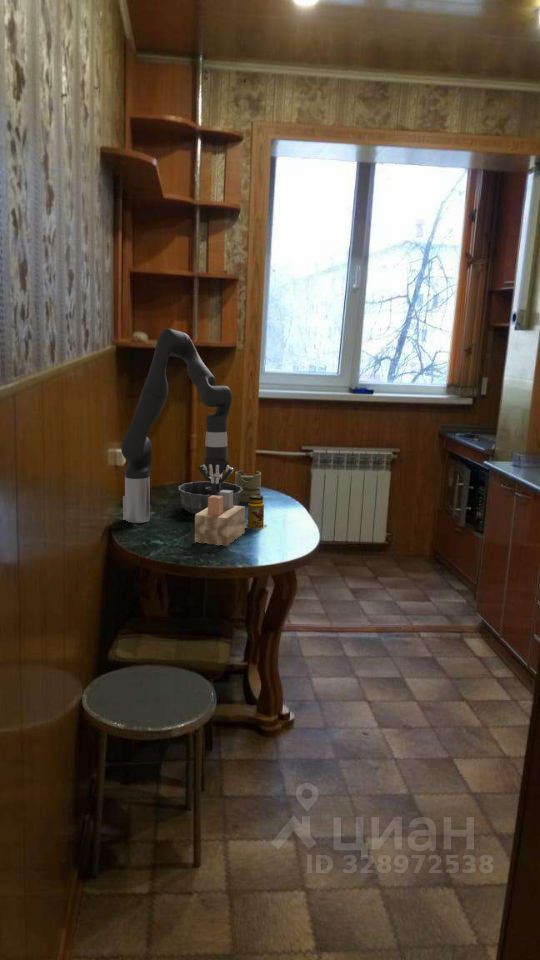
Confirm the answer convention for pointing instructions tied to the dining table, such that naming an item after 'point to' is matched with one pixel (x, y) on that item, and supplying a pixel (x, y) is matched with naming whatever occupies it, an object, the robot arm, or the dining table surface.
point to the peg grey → (227, 498)
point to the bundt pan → (204, 495)
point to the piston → (248, 484)
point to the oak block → (220, 526)
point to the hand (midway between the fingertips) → (216, 493)
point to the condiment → (255, 512)
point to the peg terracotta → (215, 505)
